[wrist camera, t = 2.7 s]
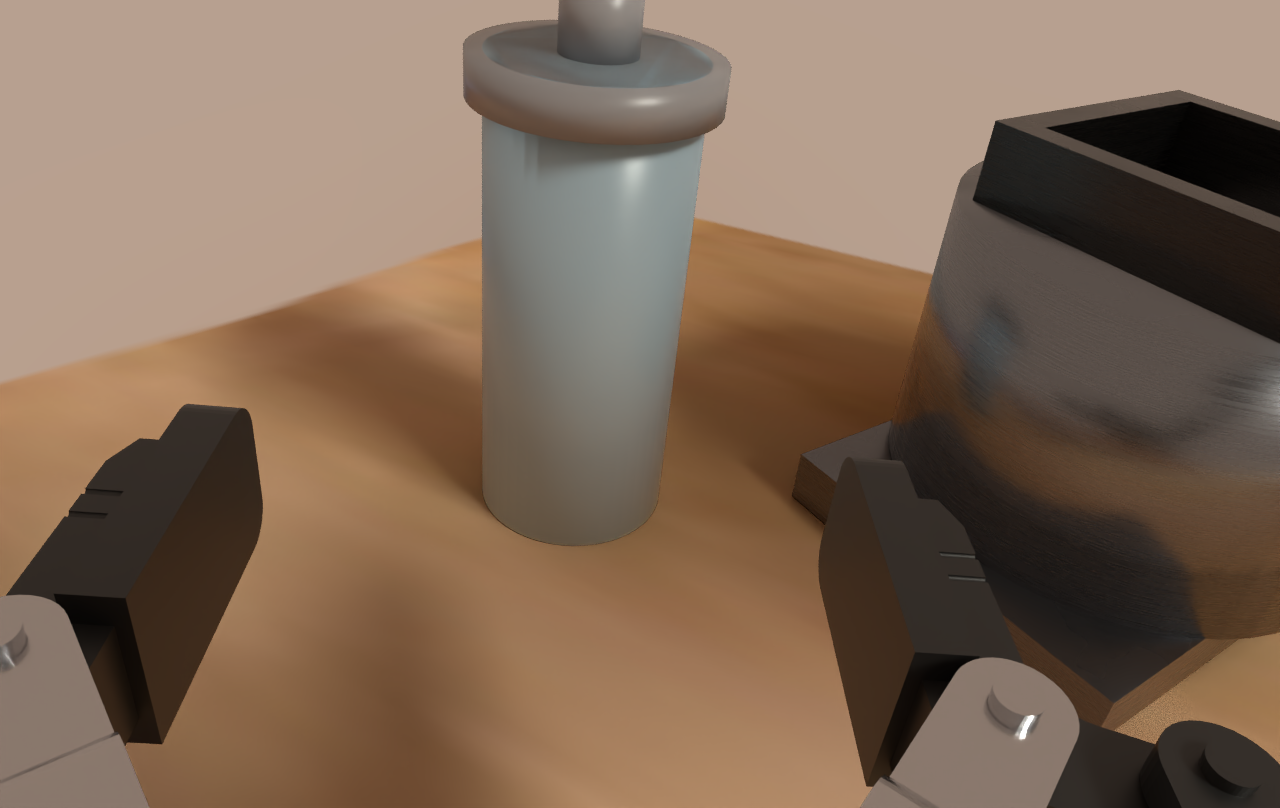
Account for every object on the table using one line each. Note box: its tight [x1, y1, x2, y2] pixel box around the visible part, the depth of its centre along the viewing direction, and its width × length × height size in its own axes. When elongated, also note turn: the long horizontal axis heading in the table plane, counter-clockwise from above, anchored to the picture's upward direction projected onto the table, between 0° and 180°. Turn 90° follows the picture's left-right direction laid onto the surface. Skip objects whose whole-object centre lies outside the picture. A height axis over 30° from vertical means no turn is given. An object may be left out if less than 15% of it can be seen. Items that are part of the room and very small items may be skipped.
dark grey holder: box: [792, 90, 1280, 731], centre depth 25 cm, size 14×14×11 cm
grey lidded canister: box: [463, 0, 732, 546], centre depth 24 cm, size 6×6×14 cm
